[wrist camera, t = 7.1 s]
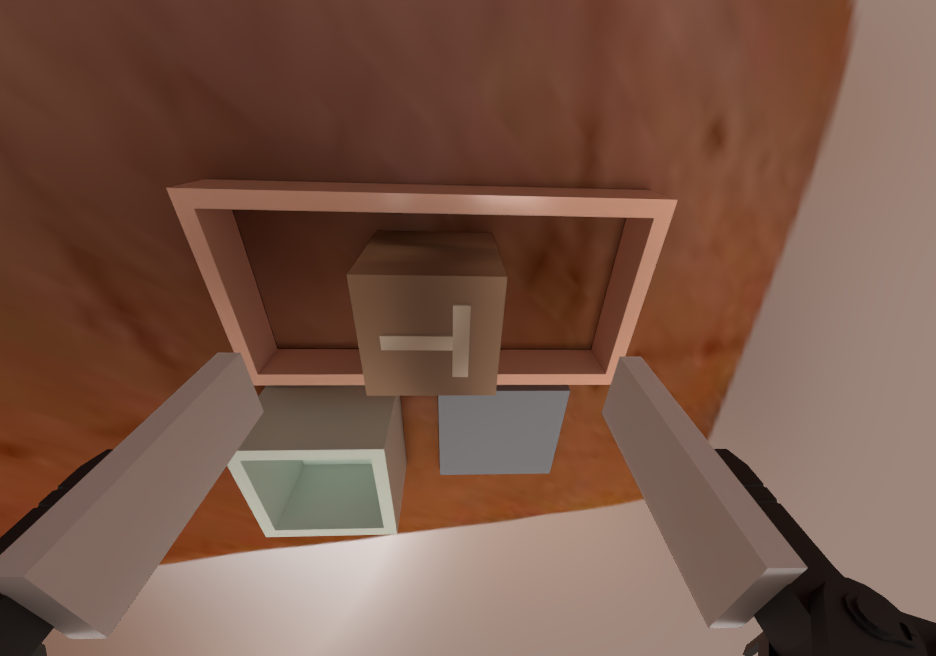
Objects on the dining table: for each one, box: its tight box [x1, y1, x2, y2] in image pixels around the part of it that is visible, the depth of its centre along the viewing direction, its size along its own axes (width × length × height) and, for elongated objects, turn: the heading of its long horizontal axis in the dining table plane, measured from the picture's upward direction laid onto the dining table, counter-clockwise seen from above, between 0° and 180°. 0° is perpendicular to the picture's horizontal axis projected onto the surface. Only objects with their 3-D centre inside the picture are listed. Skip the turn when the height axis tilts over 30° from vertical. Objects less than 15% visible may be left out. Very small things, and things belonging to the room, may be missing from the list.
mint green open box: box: [227, 385, 407, 537], centre depth 22 cm, size 9×9×6 cm
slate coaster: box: [438, 385, 570, 475], centre depth 25 cm, size 9×9×1 cm
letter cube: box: [346, 230, 507, 396], centre depth 17 cm, size 6×6×6 cm
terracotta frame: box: [166, 179, 678, 385], centre depth 18 cm, size 22×11×2 cm, turn 88°
